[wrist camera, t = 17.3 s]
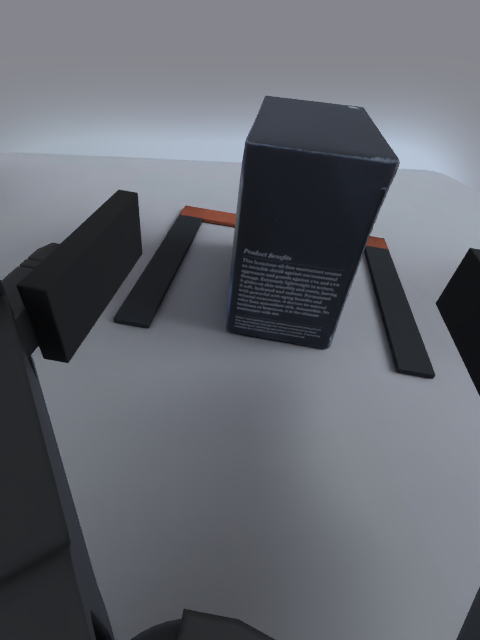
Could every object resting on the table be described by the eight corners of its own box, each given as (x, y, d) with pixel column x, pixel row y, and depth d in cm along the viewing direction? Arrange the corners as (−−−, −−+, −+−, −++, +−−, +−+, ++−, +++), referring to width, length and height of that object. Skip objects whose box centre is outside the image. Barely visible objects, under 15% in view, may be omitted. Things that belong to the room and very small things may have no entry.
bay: (113, 322, 20) (113, 318, 20) (185, 208, 32) (185, 205, 32) (433, 379, 19) (435, 375, 19) (383, 241, 31) (384, 238, 31)
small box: (241, 244, 28) (261, 90, 21) (322, 257, 28) (368, 106, 21) (219, 333, 20) (238, 131, 13) (331, 352, 20) (411, 158, 13)
